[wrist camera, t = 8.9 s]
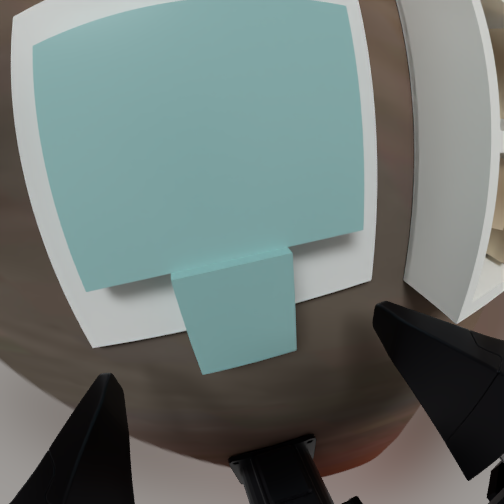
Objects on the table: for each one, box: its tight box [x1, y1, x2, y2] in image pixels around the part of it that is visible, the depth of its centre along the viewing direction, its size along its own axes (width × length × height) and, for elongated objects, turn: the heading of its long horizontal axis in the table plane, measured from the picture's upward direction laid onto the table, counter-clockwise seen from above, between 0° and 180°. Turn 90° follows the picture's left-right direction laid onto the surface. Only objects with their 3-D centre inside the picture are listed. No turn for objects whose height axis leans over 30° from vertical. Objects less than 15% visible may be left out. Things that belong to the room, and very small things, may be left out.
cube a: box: [486, 228, 504, 264], centre depth 11 cm, size 3×3×3 cm
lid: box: [33, 0, 364, 375], centre depth 8 cm, size 12×9×2 cm
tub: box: [396, 0, 504, 324], centre depth 9 cm, size 15×9×4 cm, turn 8°
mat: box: [11, 0, 377, 348], centre depth 8 cm, size 13×12×1 cm
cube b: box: [492, 157, 504, 230], centre depth 10 cm, size 3×3×3 cm
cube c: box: [488, 28, 504, 119], centre depth 7 cm, size 4×4×4 cm
